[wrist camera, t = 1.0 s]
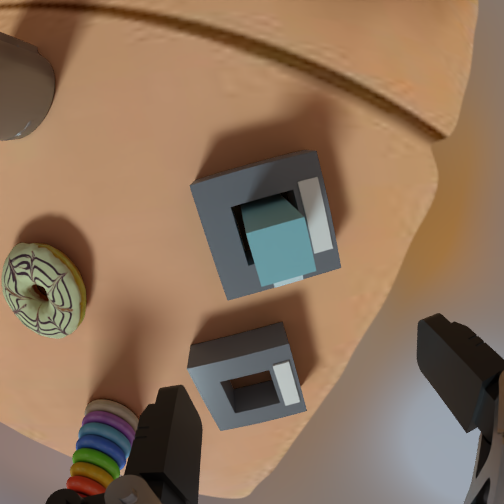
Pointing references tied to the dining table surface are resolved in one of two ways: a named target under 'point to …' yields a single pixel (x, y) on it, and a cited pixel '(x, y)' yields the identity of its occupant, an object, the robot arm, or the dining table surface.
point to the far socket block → (243, 364)
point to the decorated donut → (55, 283)
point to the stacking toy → (101, 446)
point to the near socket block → (256, 187)
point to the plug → (277, 240)
